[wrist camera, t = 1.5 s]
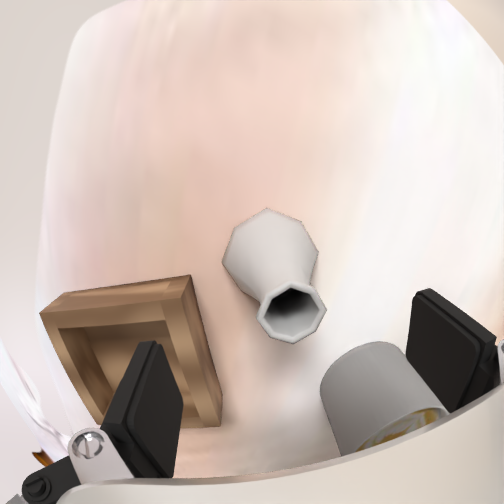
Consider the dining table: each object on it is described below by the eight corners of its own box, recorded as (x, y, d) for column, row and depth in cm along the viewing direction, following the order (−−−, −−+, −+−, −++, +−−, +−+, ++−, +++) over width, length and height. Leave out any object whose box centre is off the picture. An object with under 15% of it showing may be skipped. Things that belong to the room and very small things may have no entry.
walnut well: (222, 394, 26) (220, 426, 22) (110, 397, 26) (97, 424, 22) (190, 274, 23) (180, 297, 19) (64, 292, 23) (39, 313, 19)
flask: (332, 249, 23) (389, 299, 13) (274, 313, 24) (294, 393, 15) (264, 190, 22) (286, 204, 12) (205, 262, 23) (184, 325, 13)
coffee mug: (328, 422, 29) (351, 488, 19) (310, 364, 26) (338, 442, 16) (428, 377, 28) (468, 429, 18) (428, 313, 25) (486, 364, 16)
